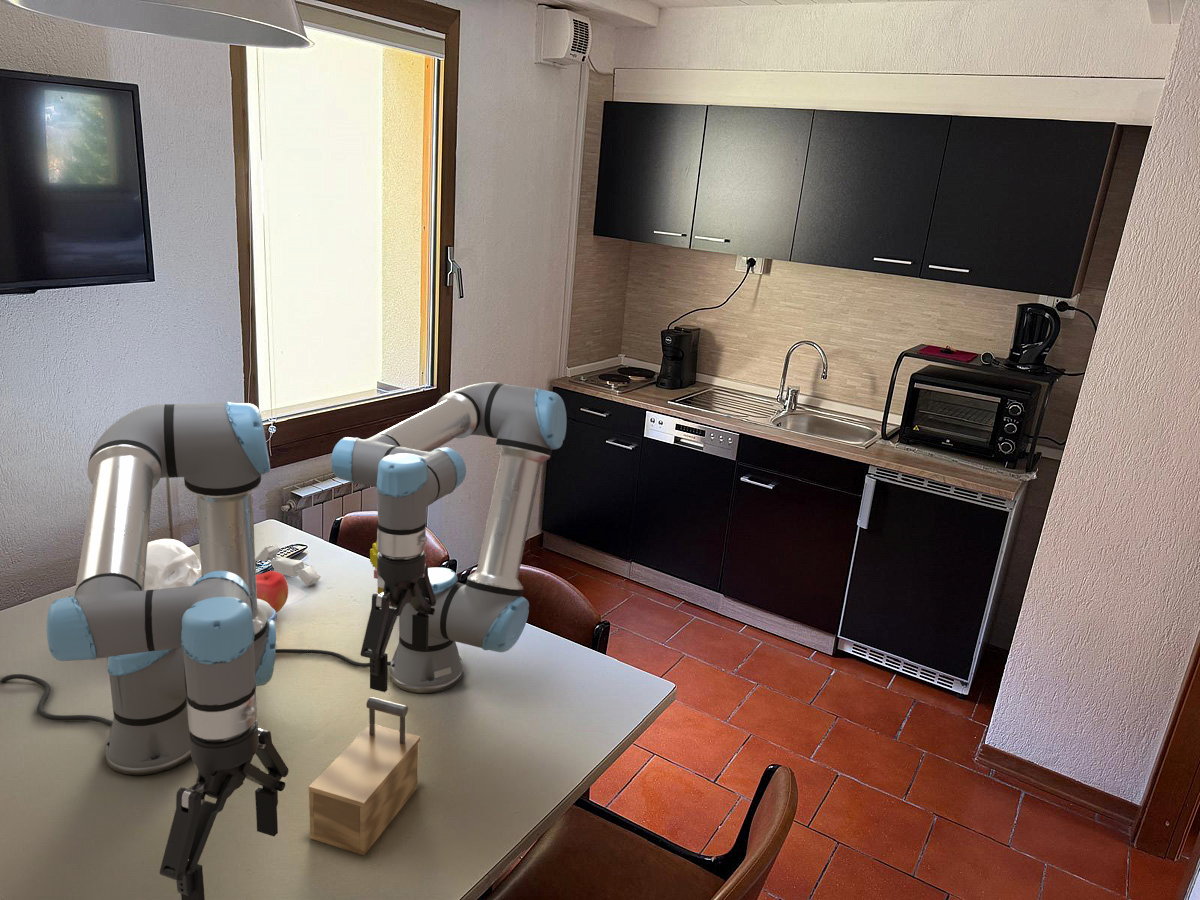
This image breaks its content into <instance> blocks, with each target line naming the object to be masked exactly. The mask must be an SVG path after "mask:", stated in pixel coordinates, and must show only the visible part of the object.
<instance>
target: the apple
mask: <svg viewBox="0 0 1200 900" xmlns="http://www.w3.org/2000/svg"><path fill="white" fill-rule="evenodd" d="M256 588H257V599H261V600H264V601H266V602H267V603H268V604H269V605H270V606H271V607H272V608H273V609H274V610H275V611H276V614H278V613H279V612H280V611H281V610H282V609H283V607H284V606H285V605H286V603H287V600H288V597H289V584H288V581H287V579H286V577H285V575H282V574H281V573H278V572H275V571H268V570H267V571H266V572H264V573H259V574H256Z"/></svg>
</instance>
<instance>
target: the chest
mask: <svg viewBox="0 0 1200 900" xmlns="http://www.w3.org/2000/svg"><path fill="white" fill-rule="evenodd" d="M418 771H419V743H418V744H417V746H416V747H415V748H414V749H413V750H412V751H411V753H410V754H409V755H408V756H407V757H406V759H405V760H404V761H403V762H402V763H401V764H400V766H399V767H398V768H397V769H396V770H395V772H394V773H393V774H392V775H391V776H390V777H389V779H388V780H387V781H386V782H385V783H384V785H383V786H382V787H381V788H380V789H379V790H378V792H377V793H376V794H375V795H374V796H373V798H372V799H371V800H370V801H369V802H368V803H367V805H366V806H365V807H361V806H357V805H354V804H351V803H347V802H344V801H341V800H337V799H334V798H331V797H327V796H324V795H321V794H317V793H314V792H311V791H309V790H308V807H309V808H308V809H309V838H310V839H311V840H314V841H318V842H321V843H324V844H326V845H330V846H332V847H336V848H339V849H342V850H345V851H349V852H352V853H355V854H358V855H362V856H366V854H367V853H368V852H369V850H370V849H371V848H372V846H373V845H374V844H375V843H376V841H377V840H378V839H379V838H380V836H381V835H382V834H383V832H384V831H385V830H386V829H387V828H388V826H389V825H390V823H391V822H392V821H393V820H394V818H395V817H396V816H397V815H398V813H400V812H399V811H401V809H402V808H403V807H404V805H405V804H406V803H407V802H408V800H409V799H410V798H411V796H412V795H413V794H415V791H416V790H417V789H418V780H419V779H418V778H419V777H418V773H419V772H418Z"/></svg>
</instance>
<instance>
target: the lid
mask: <svg viewBox="0 0 1200 900" xmlns="http://www.w3.org/2000/svg"><path fill="white" fill-rule="evenodd" d="M366 708H367V709H368V713H369V715H368V719H369V720H368V723H369V724H367V726H366V727H365V728H364V729H363V730H362V731H361V732H360V733H359V734H358V735H357V736H356V737H355V738H354V739H353V740H352V741H351V743H349V745H348V746H346V747H345V749H343V750H342V752H341V753H340V754H339V755H337V756H336V758H335V759H333V761H332V762H331V763H329V765H328V766H327V767H326V768H325V769H324V770H323V771H322V772H321V773H320V774H319V775H318V776H317V777H316V778H315V779H314V780H313V782H311V784H310V785H309V786H308V792H309V791H311V792H314V793H317V794H321V795H324V796H327V797H331V798H334V799H337V800H341V801H344V802H347V803H351V804H354V805H357V806H361V807H365V806H366V805H367V803H368V802H369V801H370V800H371V799H372V798H373V796H374V795H375V794H376V793H377V792H378V790H379V789H380V788H381V787H382V786H383V785H384V783H385V782H386V781H387V780H388V779H389V777H390V776H391V775H392V774H393V773H394V772H395V770H396V769H397V768H398V767H399V766H400V764H401V763H402V762H403V761H404V760H405V759H406V757H407V756H408V755H409V754H410V753H411V751H412V750H413V749H414V748H415V747H416V746H417V744H418V745H419V743H421V741H422V738H421V736H419V735H416V734H412V733H408V732H406V716H407V715H408V712H409V706H408V705H405V704H401V703H399V702H398V703H397V702H394V701H391V700H386V699H382V698H378V697H374V696H369V697H368V698H367V701H366ZM376 711H377V712H381V713H385V714H388V715H391V716H396V717H399V730H397V729H394V728H390V727H386V726H383V725H379V724H376Z"/></svg>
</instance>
